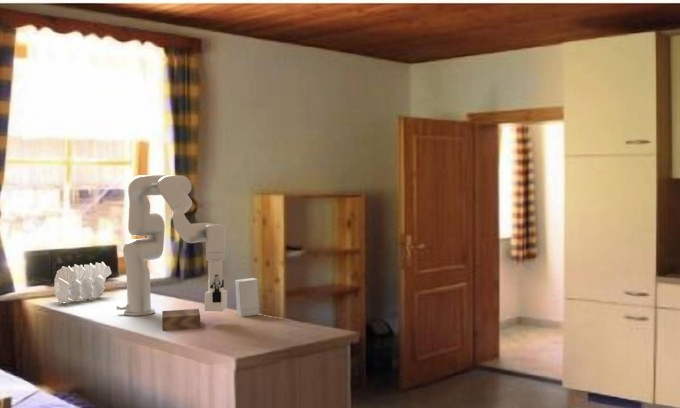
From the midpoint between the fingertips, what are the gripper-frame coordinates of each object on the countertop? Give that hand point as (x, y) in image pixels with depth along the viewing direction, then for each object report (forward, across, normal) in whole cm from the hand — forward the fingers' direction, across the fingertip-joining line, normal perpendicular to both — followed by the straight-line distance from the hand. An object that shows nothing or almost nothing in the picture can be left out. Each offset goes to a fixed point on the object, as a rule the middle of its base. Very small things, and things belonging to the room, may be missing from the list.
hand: (216, 300), depth 285 cm
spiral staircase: (+12, -80, -59) cm, 101 cm away
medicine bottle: (+4, 0, 0) cm, 4 cm away
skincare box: (+9, -13, +14) cm, 21 cm away
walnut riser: (+9, +1, -13) cm, 16 cm away
